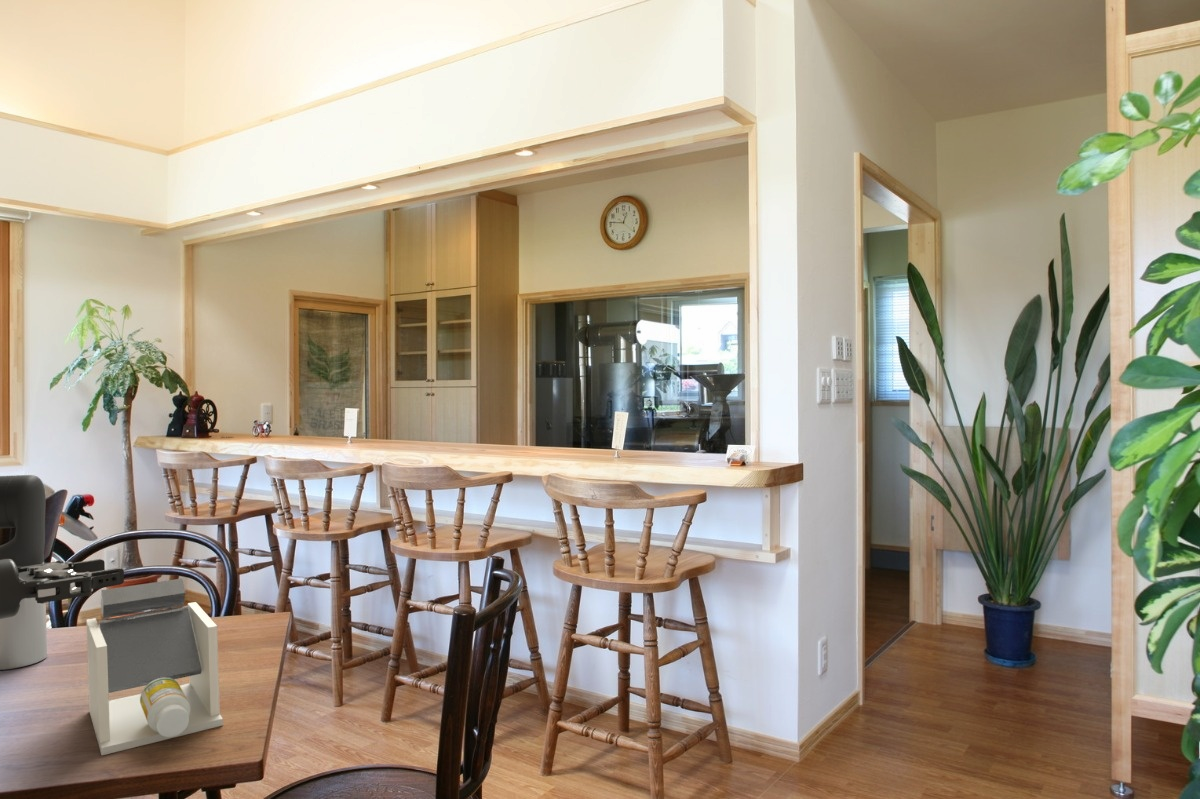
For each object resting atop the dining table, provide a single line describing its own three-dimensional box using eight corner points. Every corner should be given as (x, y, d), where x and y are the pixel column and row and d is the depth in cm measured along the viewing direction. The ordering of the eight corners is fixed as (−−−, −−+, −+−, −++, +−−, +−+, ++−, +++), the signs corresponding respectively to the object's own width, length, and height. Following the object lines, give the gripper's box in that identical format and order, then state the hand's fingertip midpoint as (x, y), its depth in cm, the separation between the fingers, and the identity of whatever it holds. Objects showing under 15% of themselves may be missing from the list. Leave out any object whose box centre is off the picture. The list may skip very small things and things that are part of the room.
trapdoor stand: (89, 711, 123) (86, 619, 123) (198, 687, 132) (195, 601, 132) (101, 755, 109) (98, 651, 108) (222, 725, 117) (220, 629, 117)
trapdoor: (96, 607, 125) (97, 590, 123) (183, 594, 132) (185, 577, 130) (107, 693, 115) (108, 676, 113) (201, 674, 122) (203, 657, 120)
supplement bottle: (151, 672, 117) (164, 699, 110) (187, 681, 120) (202, 707, 113) (131, 708, 116) (143, 738, 109) (168, 716, 119) (182, 745, 112)
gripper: (-20, 573, 98) (129, 551, 110) (-43, 556, 108) (96, 538, 119) (-18, 635, 98) (131, 606, 110) (-41, 613, 108) (98, 588, 120)
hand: (113, 570), depth 115 cm, fingers open, 8 cm apart
